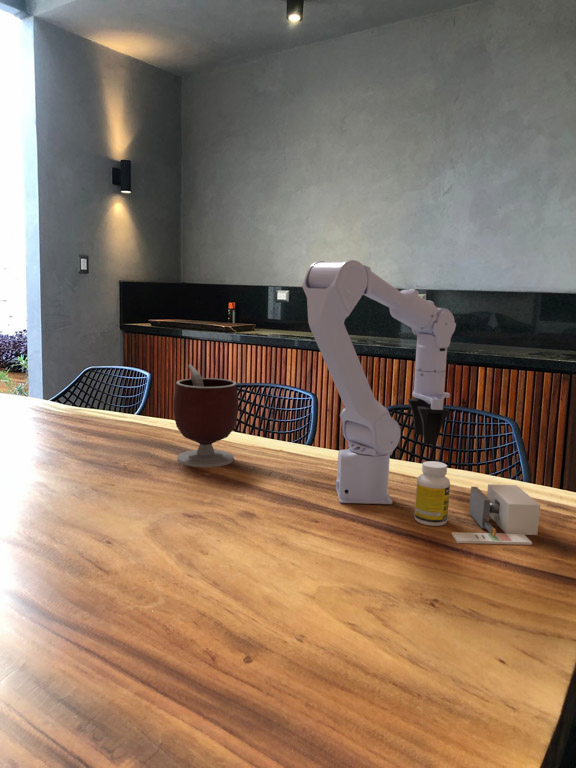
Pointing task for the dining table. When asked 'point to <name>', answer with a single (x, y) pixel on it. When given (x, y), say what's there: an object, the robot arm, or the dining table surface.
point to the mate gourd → (205, 417)
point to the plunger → (482, 509)
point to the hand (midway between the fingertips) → (425, 439)
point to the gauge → (508, 517)
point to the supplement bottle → (432, 494)
